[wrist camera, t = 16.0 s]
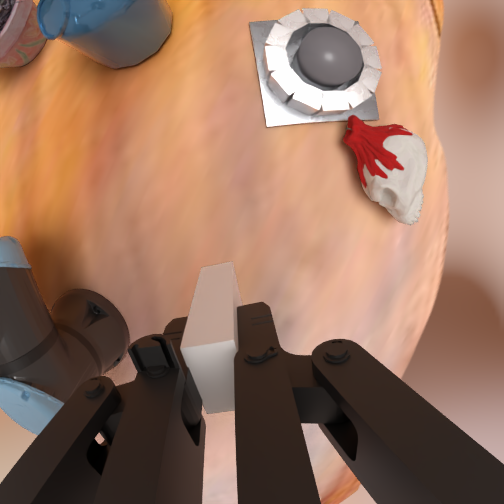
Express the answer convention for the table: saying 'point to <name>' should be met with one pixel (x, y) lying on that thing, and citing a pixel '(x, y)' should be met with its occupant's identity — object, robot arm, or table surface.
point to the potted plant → (19, 33)
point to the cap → (327, 58)
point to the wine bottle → (107, 28)
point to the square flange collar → (299, 93)
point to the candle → (390, 166)
